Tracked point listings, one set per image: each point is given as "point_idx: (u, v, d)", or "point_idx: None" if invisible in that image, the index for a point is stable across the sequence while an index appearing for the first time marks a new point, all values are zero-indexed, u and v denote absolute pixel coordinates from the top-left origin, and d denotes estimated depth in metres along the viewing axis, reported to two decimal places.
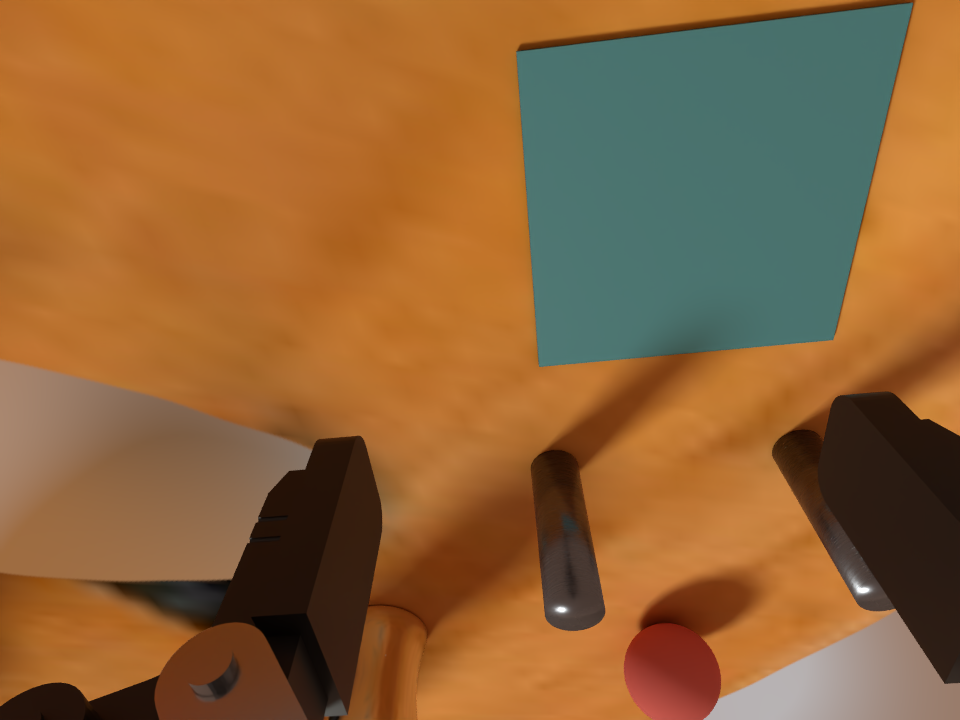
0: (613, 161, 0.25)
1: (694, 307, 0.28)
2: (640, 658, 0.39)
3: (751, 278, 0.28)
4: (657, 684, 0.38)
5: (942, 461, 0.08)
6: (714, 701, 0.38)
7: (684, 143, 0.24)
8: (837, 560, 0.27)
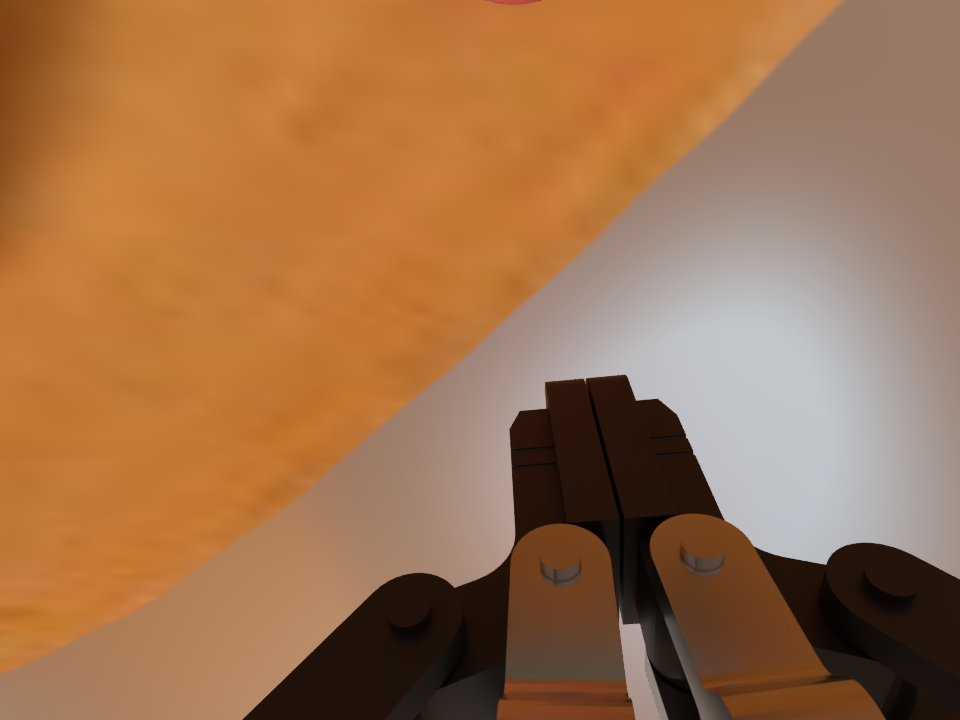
0: None
1: None
2: None
3: None
4: None
5: (631, 433, 0.09)
6: None
7: None
8: None
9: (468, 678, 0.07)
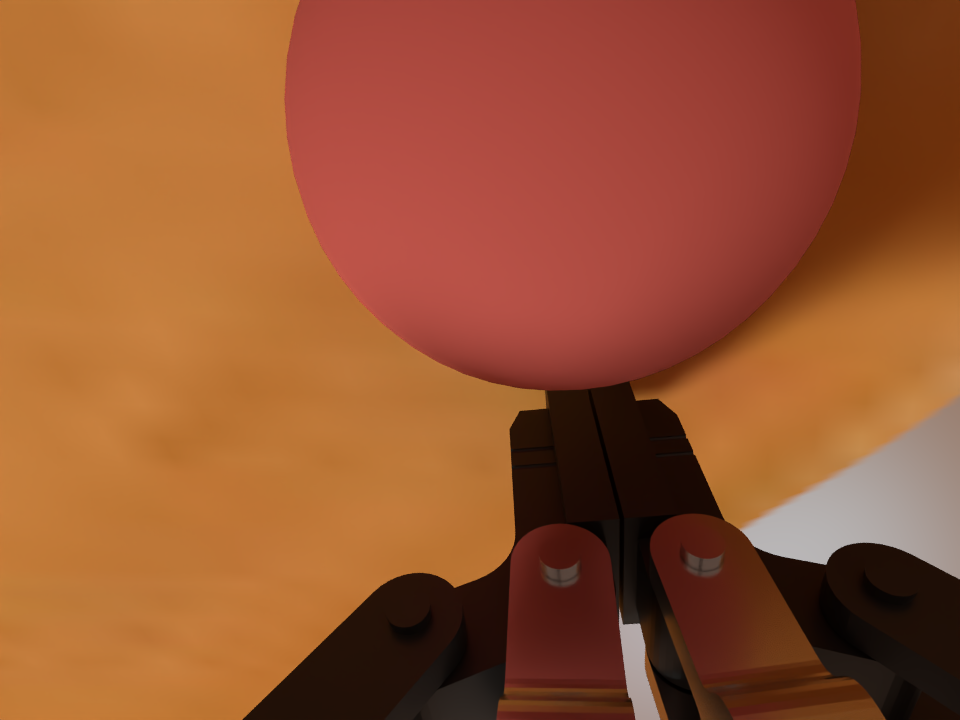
0: None
1: None
2: None
3: None
4: None
5: (631, 433, 0.09)
6: (837, 100, 0.05)
7: None
8: None
9: (468, 678, 0.07)
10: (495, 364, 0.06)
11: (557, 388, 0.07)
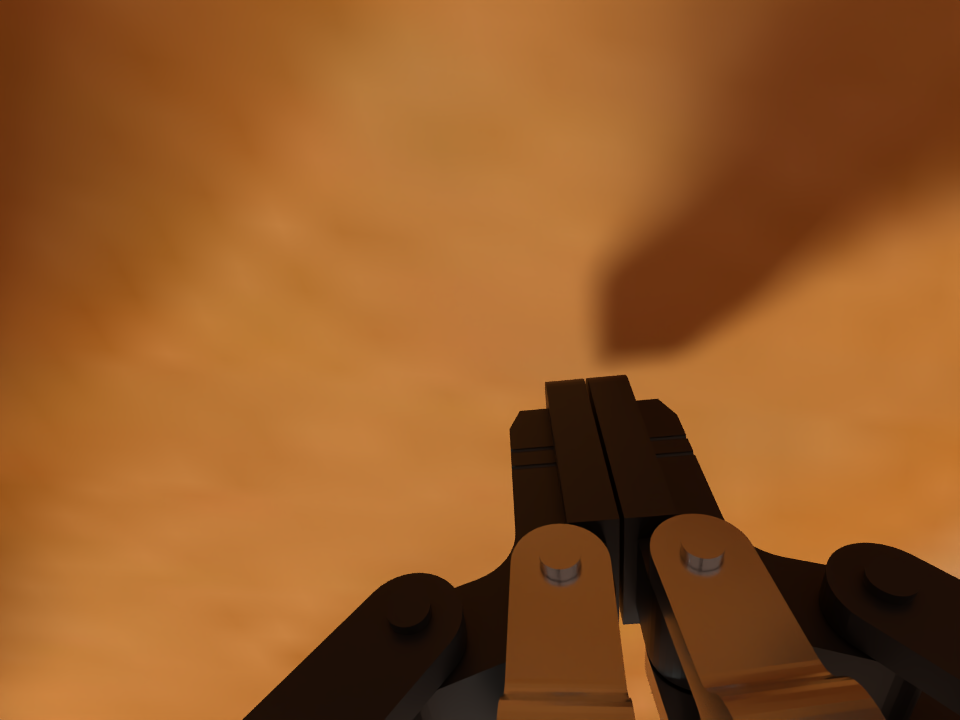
0: None
1: None
2: None
3: None
4: None
5: (631, 432, 0.10)
6: None
7: None
8: None
9: (468, 678, 0.07)
10: None
11: None
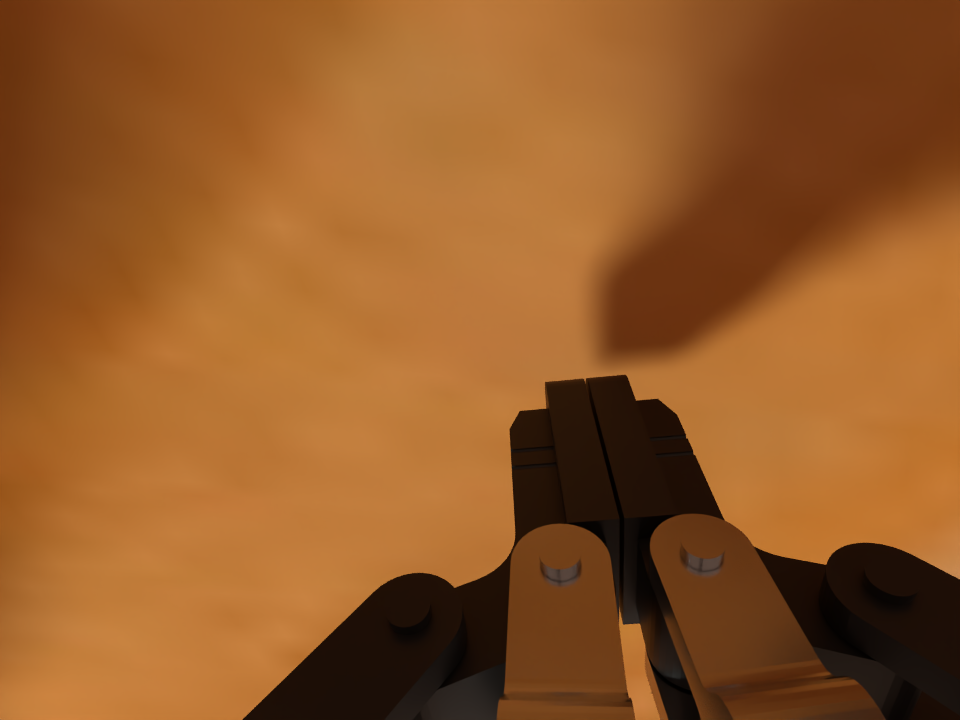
0: None
1: None
2: None
3: None
4: None
5: (631, 432, 0.10)
6: None
7: None
8: None
9: (468, 678, 0.07)
10: None
11: None
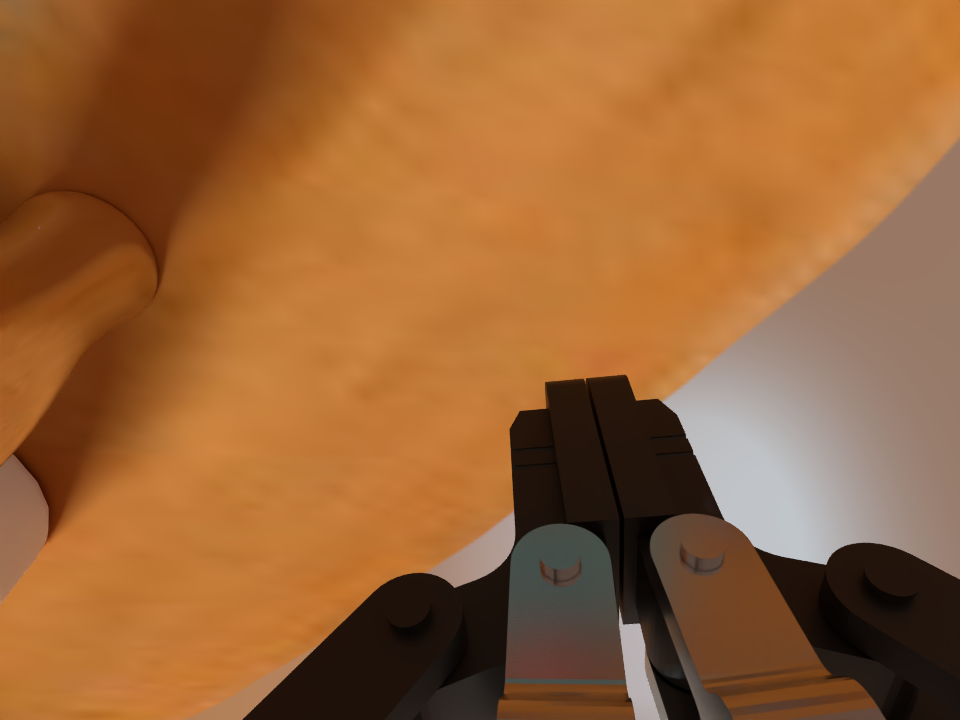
0: None
1: None
2: None
3: None
4: None
5: (631, 433, 0.10)
6: None
7: None
8: None
9: (468, 678, 0.07)
10: None
11: None
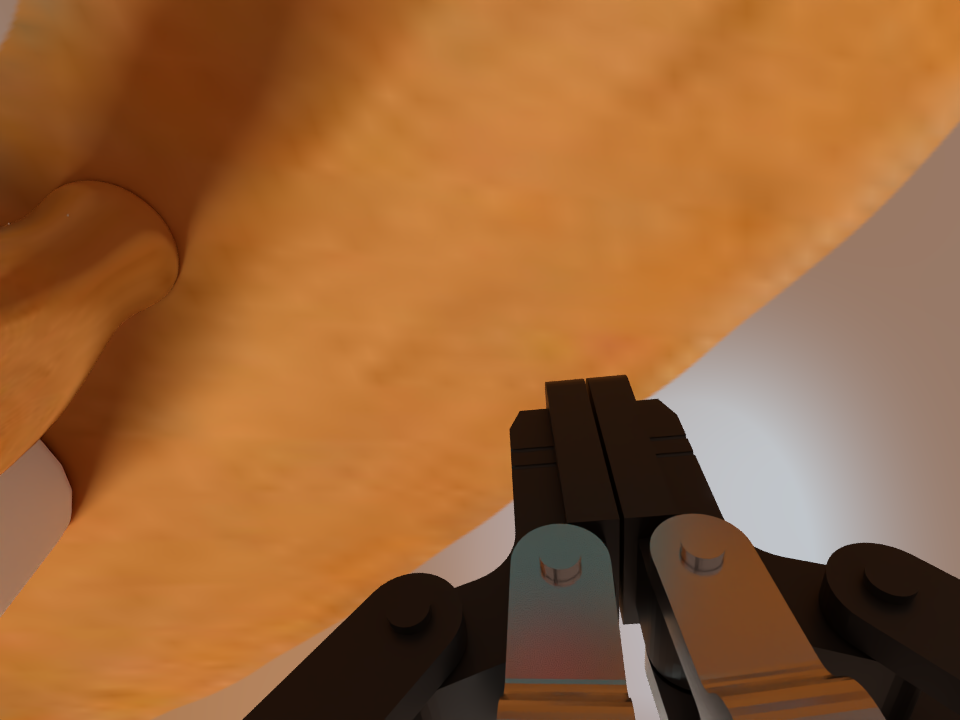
0: None
1: None
2: None
3: None
4: None
5: (631, 432, 0.09)
6: None
7: None
8: None
9: (468, 678, 0.07)
10: None
11: None
